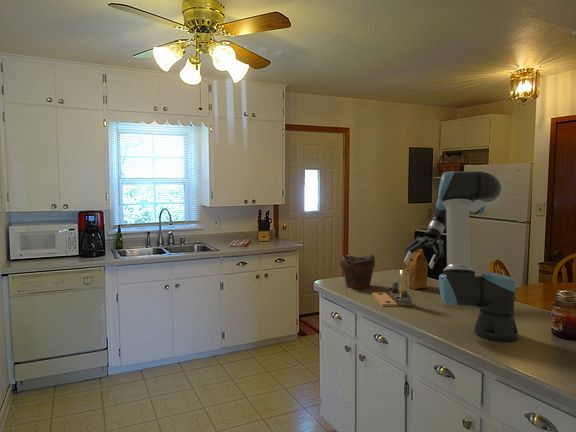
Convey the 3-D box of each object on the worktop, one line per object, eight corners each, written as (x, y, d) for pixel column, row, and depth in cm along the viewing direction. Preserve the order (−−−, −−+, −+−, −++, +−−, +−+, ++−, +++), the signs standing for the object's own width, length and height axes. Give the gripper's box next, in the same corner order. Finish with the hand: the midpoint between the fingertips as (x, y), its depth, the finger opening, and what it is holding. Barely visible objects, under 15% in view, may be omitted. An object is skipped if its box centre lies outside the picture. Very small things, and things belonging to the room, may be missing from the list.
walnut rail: (411, 306, 199) (412, 291, 198) (395, 306, 198) (395, 291, 198) (399, 294, 219) (399, 281, 218) (384, 294, 218) (384, 281, 218)
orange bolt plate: (397, 306, 198) (397, 303, 198) (382, 306, 198) (382, 303, 198) (385, 294, 218) (385, 292, 218) (372, 294, 218) (372, 292, 218)
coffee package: (418, 283, 242) (419, 245, 240) (429, 289, 230) (430, 249, 228) (401, 284, 240) (403, 246, 239) (412, 290, 228) (413, 249, 226)
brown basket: (333, 283, 240) (334, 252, 238) (362, 280, 248) (363, 250, 247) (350, 292, 224) (351, 258, 222) (381, 288, 232) (382, 256, 230)
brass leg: (411, 301, 199) (412, 271, 197) (395, 301, 198) (396, 271, 197) (406, 297, 204) (407, 269, 203) (391, 297, 204) (392, 269, 203)
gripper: (460, 238, 209) (444, 273, 200) (414, 234, 227) (398, 265, 218) (455, 229, 205) (438, 263, 196) (409, 225, 223) (392, 256, 214)
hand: (417, 264), depth 207 cm, fingers open, 13 cm apart
